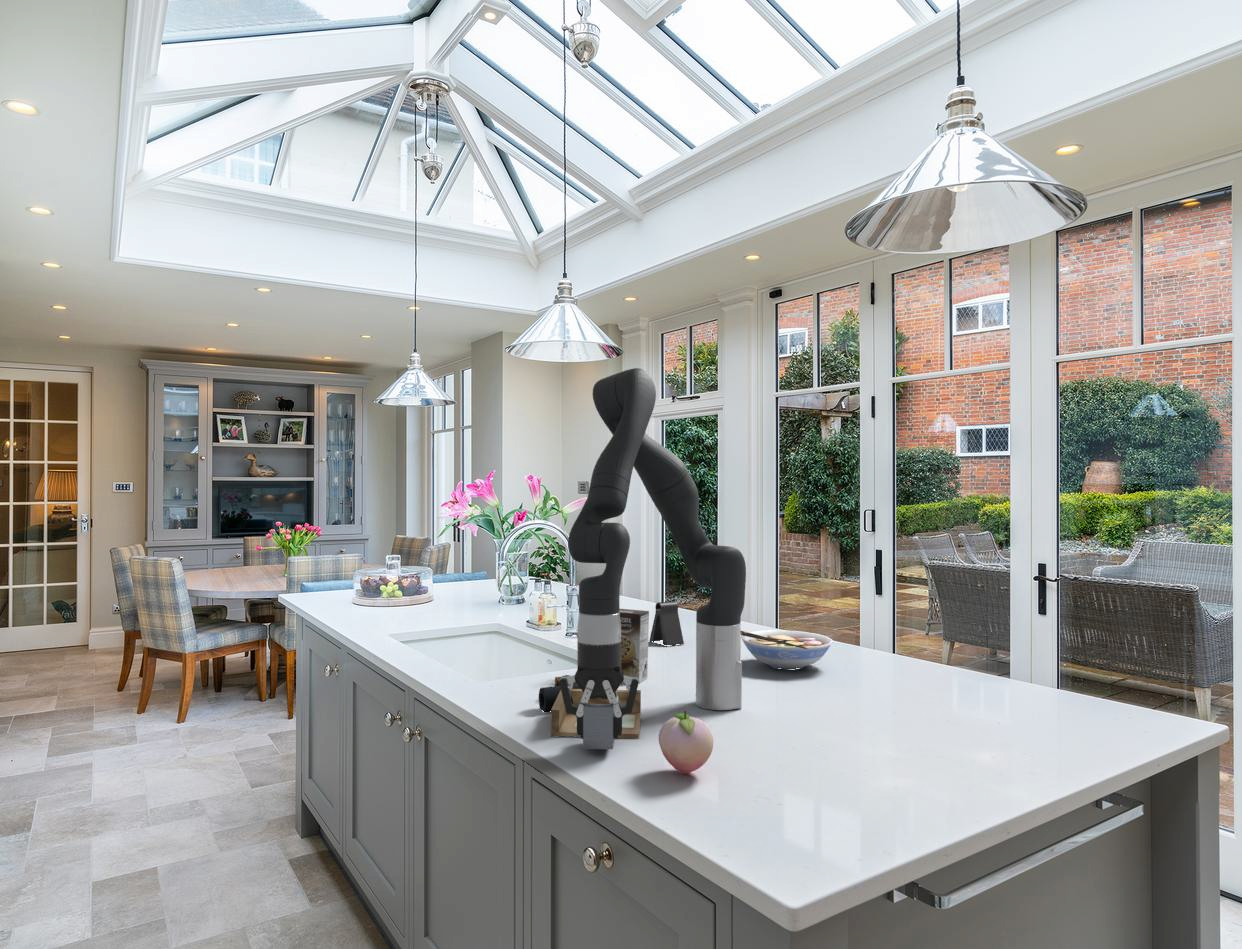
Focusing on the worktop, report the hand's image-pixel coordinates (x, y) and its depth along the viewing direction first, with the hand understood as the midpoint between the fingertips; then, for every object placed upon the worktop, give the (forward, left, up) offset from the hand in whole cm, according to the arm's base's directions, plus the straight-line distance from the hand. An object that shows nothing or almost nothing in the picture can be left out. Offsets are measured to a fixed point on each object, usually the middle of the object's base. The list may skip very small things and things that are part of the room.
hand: (599, 737), depth 135 cm
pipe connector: (+8, -30, -3) cm, 31 cm away
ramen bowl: (-43, -66, -3) cm, 79 cm away
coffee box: (-3, -51, -3) cm, 52 cm away
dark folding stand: (-13, -94, -3) cm, 95 cm away
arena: (+1, -15, -2) cm, 15 cm away
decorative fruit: (-15, +10, -3) cm, 18 cm away
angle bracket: (0, -1, -1) cm, 1 cm away
